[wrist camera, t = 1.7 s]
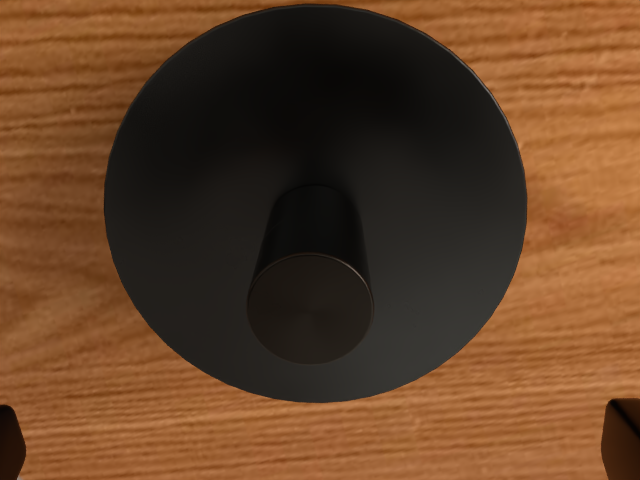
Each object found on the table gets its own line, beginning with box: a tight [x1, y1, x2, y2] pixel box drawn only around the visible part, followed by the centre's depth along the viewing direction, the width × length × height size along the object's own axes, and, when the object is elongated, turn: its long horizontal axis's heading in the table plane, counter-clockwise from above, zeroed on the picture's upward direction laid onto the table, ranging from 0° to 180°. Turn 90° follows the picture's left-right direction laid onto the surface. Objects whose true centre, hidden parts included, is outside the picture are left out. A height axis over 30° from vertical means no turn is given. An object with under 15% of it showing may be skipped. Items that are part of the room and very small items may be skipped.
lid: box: [104, 3, 527, 403], centre depth 14 cm, size 11×11×5 cm
